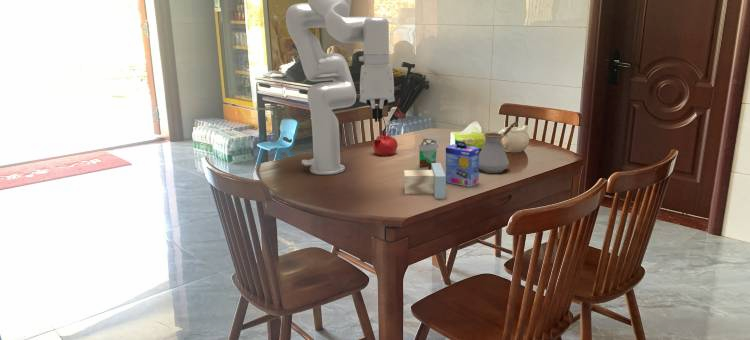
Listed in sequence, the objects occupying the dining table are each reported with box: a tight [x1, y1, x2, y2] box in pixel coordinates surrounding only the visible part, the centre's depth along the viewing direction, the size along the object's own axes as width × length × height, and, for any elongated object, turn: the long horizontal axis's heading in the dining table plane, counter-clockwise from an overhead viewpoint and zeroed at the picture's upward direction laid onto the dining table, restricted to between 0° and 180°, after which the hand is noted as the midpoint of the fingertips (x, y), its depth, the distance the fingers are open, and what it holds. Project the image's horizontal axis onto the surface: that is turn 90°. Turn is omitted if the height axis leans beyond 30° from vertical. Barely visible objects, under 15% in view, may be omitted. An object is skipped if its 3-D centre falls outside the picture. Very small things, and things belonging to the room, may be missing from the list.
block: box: [403, 169, 434, 195], centre depth 183 cm, size 9×7×6 cm
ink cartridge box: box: [445, 140, 480, 188], centre depth 188 cm, size 10×6×14 cm, turn 51°
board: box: [431, 162, 447, 200], centre depth 182 cm, size 3×16×7 cm, turn 179°
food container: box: [418, 137, 439, 170], centre depth 207 cm, size 12×6×10 cm, turn 168°
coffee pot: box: [479, 122, 519, 174], centre depth 206 cm, size 21×12×15 cm, turn 138°
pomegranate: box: [372, 131, 399, 157], centre depth 231 cm, size 10×10×9 cm
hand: (377, 120), depth 177 cm, fingers closed
